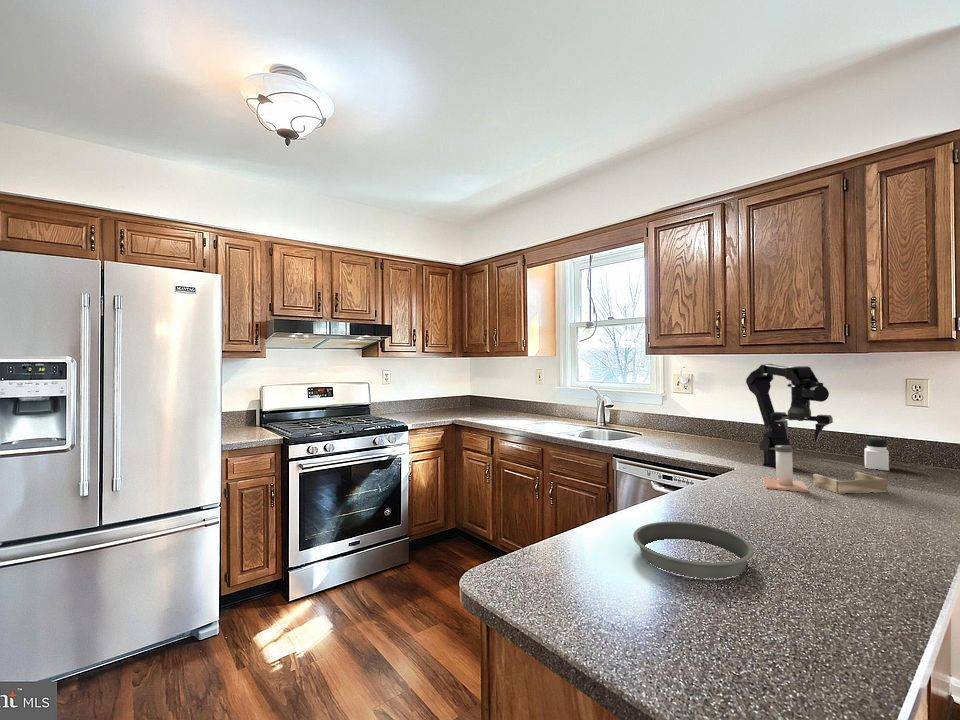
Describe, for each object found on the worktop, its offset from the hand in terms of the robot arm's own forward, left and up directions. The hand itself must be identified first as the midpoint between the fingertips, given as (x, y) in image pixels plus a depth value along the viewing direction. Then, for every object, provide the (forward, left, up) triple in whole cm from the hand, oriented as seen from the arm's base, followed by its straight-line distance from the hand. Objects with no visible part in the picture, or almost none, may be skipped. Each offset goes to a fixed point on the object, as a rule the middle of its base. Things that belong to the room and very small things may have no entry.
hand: (801, 440), depth 177 cm
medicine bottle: (+18, +32, -13) cm, 39 cm away
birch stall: (+16, -11, -13) cm, 23 cm away
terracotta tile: (0, -22, -13) cm, 26 cm away
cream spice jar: (0, -22, -12) cm, 25 cm away
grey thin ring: (+2, -103, -14) cm, 104 cm away
